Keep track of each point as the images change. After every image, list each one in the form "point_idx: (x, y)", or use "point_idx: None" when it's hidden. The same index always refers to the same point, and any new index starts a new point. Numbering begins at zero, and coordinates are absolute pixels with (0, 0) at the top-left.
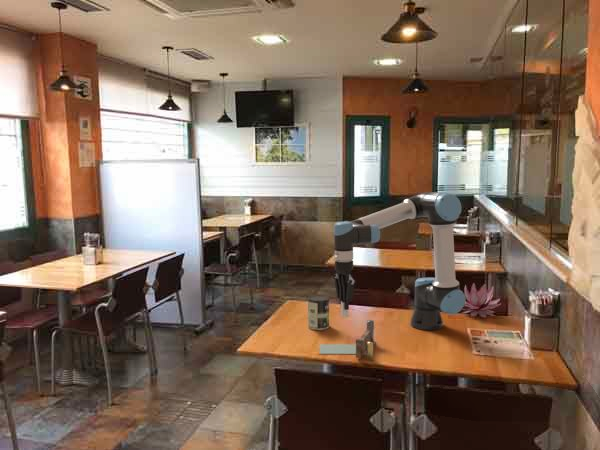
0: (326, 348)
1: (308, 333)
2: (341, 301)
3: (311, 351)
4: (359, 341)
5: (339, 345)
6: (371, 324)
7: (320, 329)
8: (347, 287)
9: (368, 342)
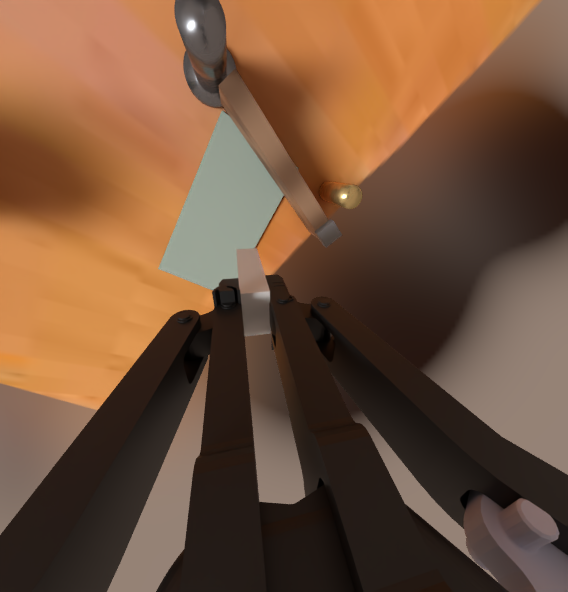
0: (200, 264)
1: (14, 249)
2: (249, 334)
3: (200, 305)
4: (337, 238)
5: (192, 215)
6: (225, 40)
7: None
8: (398, 451)
9: (348, 202)
